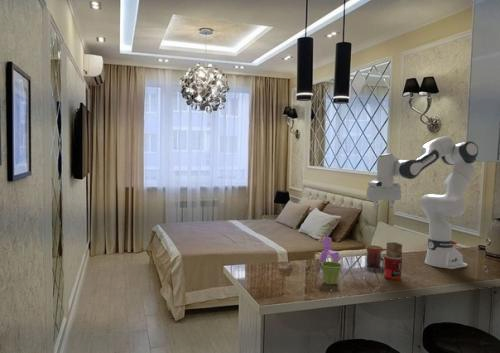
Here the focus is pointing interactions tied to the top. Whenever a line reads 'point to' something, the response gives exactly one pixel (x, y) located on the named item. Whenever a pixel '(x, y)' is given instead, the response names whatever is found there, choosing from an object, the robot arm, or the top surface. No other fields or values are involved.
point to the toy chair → (328, 251)
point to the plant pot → (331, 272)
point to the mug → (374, 255)
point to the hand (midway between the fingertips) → (383, 208)
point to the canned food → (393, 267)
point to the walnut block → (394, 249)
